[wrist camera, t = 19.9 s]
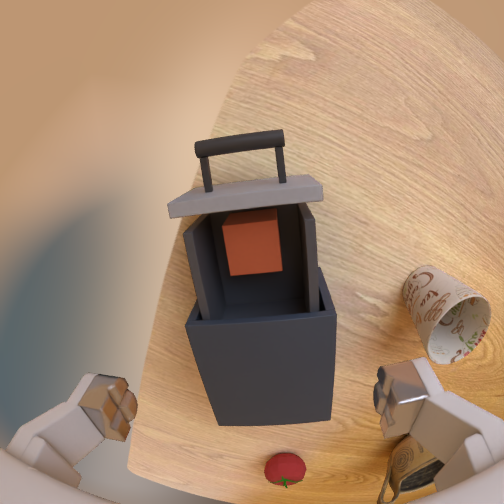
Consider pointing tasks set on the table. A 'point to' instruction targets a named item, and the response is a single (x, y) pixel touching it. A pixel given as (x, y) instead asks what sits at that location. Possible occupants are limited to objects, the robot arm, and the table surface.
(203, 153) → the drawer
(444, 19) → the table surface
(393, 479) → the ceramic bowl
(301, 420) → the cabinet
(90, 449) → the robot arm
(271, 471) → the tomato
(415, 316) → the mug
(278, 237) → the block
